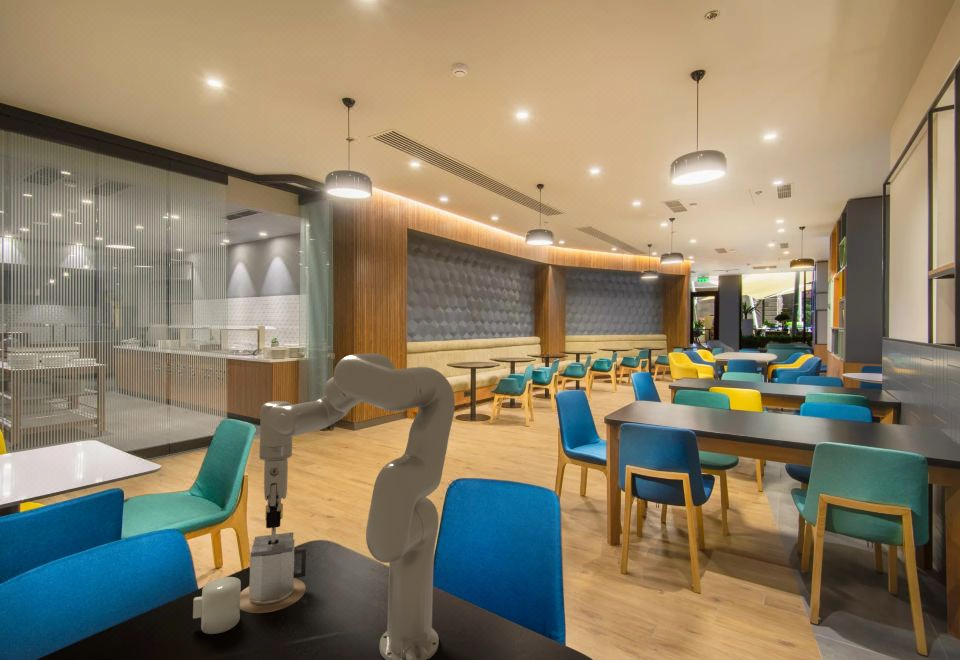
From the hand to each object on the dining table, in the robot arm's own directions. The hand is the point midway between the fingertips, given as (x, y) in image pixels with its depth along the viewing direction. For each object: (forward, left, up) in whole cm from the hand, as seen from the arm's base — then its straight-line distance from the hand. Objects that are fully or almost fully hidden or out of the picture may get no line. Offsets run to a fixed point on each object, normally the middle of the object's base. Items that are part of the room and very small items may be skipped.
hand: (273, 522), depth 116 cm
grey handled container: (0, -1, -18) cm, 18 cm away
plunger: (0, 0, -13) cm, 13 cm away
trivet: (0, 0, -18) cm, 18 cm away
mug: (-9, +10, -19) cm, 23 cm away
